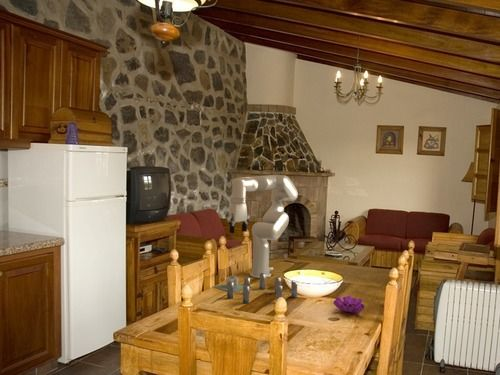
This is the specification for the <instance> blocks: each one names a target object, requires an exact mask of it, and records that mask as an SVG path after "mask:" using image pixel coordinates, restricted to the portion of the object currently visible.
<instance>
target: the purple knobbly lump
mask: <svg viewBox="0 0 500 375" xmlns="http://www.w3.org/2000/svg"><path fill="white" fill-rule="evenodd" d="M333 306H335V308H338V309H339V310H340V311H343V312H346V313H352V314H354V313H360V312H362V311H363V310H364V309H365V308H366V307H365V305H364V304H363V299H362V298H360V297H359V298H356V297H352V295H347V296H343V297H342V298H341V296H338V297H335V300H333Z"/></svg>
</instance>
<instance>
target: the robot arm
mask: <svg viewBox="0 0 500 375" xmlns="http://www.w3.org/2000/svg"><path fill="white" fill-rule="evenodd" d="M231 187H232V189H231V191H232V193H231V196H232V197H231V203H230V207H229V213H228V214H229V215H228V216H227V217H226V221H227V224H228V226H229V233H230V234H235V232H236V231H235V229H236V228H235V224H236V223H241V222H242V224H241V231H242V232H247V230H248V223H249V221H250V219H251V218H250V217H251V216H250V215H249V214H248V210H247V209H248V208H247V207H248V206H247V203H246V202H247V199H246V198H247V192H248V193H249V192H256V191H268V190H271V205H270V207H269V208H268V209H267V210H266V212H265V213H264V215H263V217H262V221H258V222H255V223H254V224H253V225H252V227H251V234H252V271H251V272H250V273H249V275H250V276H251V277H253V278H256V279H257V278H258V279H260V273H264V274H265V279H266V278H271V276H272V273H271V272H272V271H274V267H272V266H269V265H270V243H269V240H270V241H277V240H278V239H279V238H280V237H281V236H282V234H283V233H284V231H285V230H286V228H287V227H288V225H289V222H290V217H289V215H288V213H286V212H284V211H285V207H284V204H283V202H295V201H296V200H297V199H298V196H299V193H298V189H297V187H296V186H295V185H294V183H293V181H292V180H291V179H290V177H289V176H287V175H285V174H284V175H283V174H282V175H281V174H269V175H268V174H267V175H256V176H242V177H241V176H240V177H237V178H233V180H232V186H231ZM282 201H283V202H282Z"/></svg>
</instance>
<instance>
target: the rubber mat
mask: <svg viewBox="0 0 500 375" xmlns="http://www.w3.org/2000/svg"><path fill="white" fill-rule="evenodd" d="M243 286H244V284H240V283H238V287H237V288H233V294H234V293H238V292H241V291H243ZM213 288H214V289H218V290H221V291H225V292H227V287H226V283H223V284H219V285H214V286H213ZM250 289H251V286H250Z"/></svg>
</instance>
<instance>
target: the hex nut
mask: <svg viewBox="0 0 500 375" xmlns="http://www.w3.org/2000/svg"><path fill="white" fill-rule="evenodd" d="M228 281H233V282H234V287H233V288H237V287H238V284H239V276H235V275H234V276H233V275H232V276H230V275H229V276H227V277H226V283H225V284H226V287H227V282H228Z"/></svg>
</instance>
